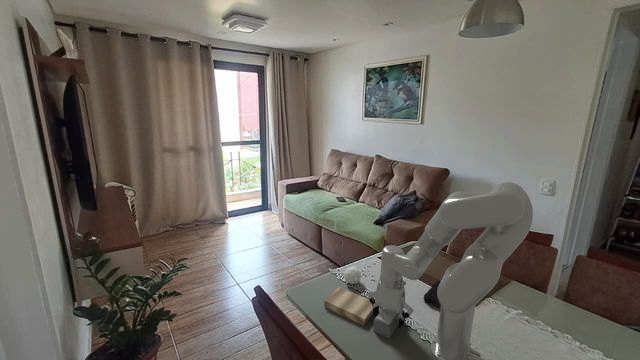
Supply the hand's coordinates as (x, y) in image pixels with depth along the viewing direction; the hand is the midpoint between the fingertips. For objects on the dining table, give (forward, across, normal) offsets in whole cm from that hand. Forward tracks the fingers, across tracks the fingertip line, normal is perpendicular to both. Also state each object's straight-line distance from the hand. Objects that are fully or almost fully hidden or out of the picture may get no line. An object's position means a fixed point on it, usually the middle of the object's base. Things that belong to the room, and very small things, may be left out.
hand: (388, 320), depth 107 cm
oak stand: (+2, +16, 0) cm, 16 cm away
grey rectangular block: (+2, 0, 0) cm, 2 cm away
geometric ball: (+2, +24, -16) cm, 29 cm away
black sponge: (+2, -12, -28) cm, 30 cm away
